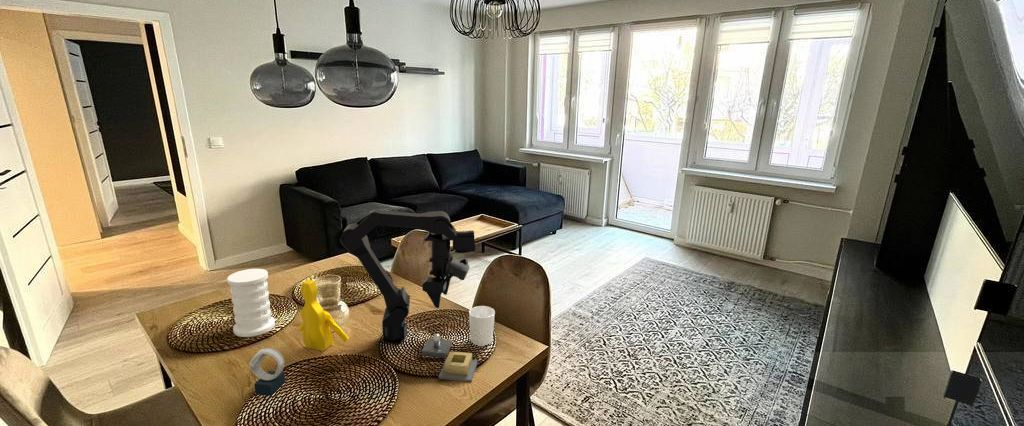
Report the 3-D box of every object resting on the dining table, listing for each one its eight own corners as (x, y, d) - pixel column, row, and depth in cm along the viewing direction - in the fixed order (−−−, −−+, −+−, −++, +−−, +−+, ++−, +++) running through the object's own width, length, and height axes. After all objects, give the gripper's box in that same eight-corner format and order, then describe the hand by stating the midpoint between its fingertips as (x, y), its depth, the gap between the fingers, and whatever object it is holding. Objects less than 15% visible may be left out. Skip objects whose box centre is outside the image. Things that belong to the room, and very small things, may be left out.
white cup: (490, 349, 131) (491, 319, 129) (465, 345, 133) (465, 316, 130) (496, 336, 139) (497, 307, 136) (473, 332, 140) (473, 304, 138)
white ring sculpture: (263, 380, 114) (258, 342, 111) (291, 383, 113) (287, 345, 111) (248, 394, 109) (242, 355, 106) (278, 397, 108) (273, 358, 105)
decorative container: (224, 331, 136) (216, 278, 132) (258, 315, 147) (251, 265, 142) (251, 340, 132) (243, 285, 128) (283, 323, 143) (277, 272, 138)
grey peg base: (421, 357, 126) (421, 340, 125) (428, 344, 133) (428, 327, 132) (445, 359, 126) (445, 342, 124) (451, 346, 132) (451, 329, 131)
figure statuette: (353, 345, 131) (348, 277, 126) (336, 359, 124) (330, 288, 118) (305, 334, 136) (298, 269, 131) (285, 347, 129) (277, 279, 123)
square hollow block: (450, 360, 124) (450, 351, 123) (472, 362, 123) (472, 353, 123) (444, 374, 118) (444, 364, 117) (467, 376, 117) (467, 366, 117)
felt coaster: (438, 378, 117) (438, 376, 117) (447, 359, 126) (447, 357, 125) (471, 381, 116) (471, 379, 116) (477, 362, 125) (477, 360, 125)
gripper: (460, 266, 121) (460, 317, 125) (473, 245, 139) (472, 290, 143) (421, 264, 122) (422, 314, 126) (439, 243, 140) (439, 287, 144)
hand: (441, 300), depth 135 cm, fingers open, 9 cm apart
